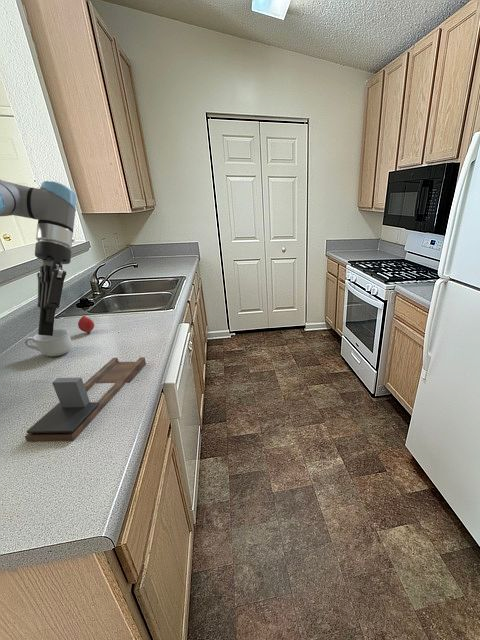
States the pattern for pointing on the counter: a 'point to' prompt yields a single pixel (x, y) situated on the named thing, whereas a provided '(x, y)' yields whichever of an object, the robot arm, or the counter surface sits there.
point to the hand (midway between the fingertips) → (45, 335)
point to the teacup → (51, 343)
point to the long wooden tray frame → (107, 374)
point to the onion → (86, 324)
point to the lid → (66, 408)
